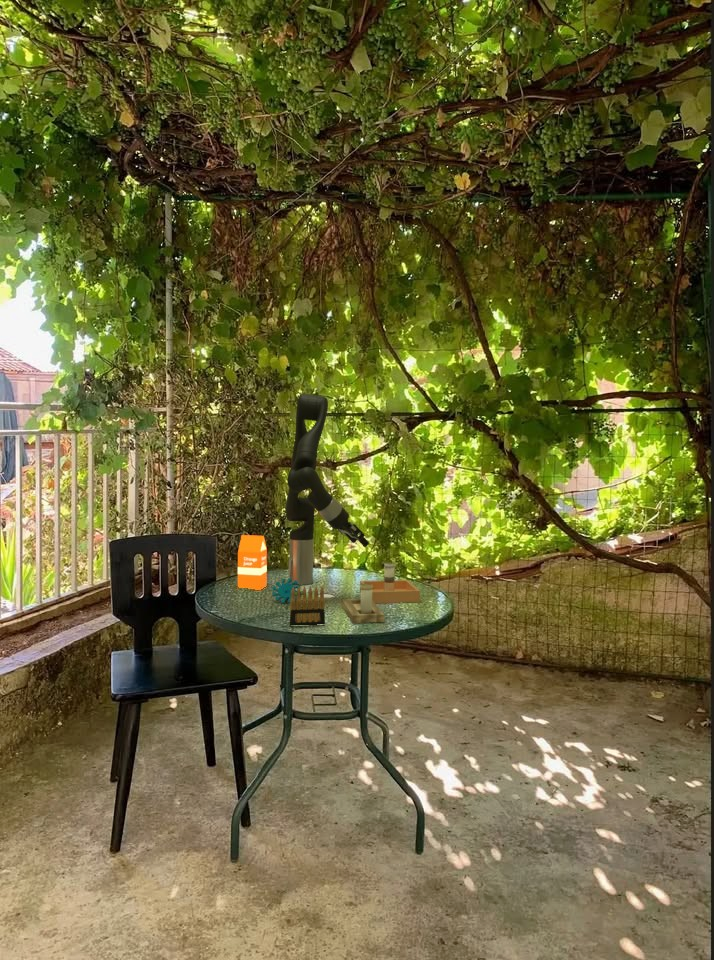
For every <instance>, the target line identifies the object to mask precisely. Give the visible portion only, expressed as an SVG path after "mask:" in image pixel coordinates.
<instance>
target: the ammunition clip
mask: <svg viewBox="0 0 714 960" xmlns="http://www.w3.org/2000/svg"><path fill="white" fill-rule="evenodd" d="M300 587H301V586H300ZM300 587H298V589H295V590H297V599H296V600H295V590H294V587H292V591H291V600H290V603H289V605H290V606H289V611H290V612H289V624H290V625H317V624H325V625H326V616H325V614H326V613H325V612H326V611H325V601H326V600H325V591H324V590H325V589H324V587H323V585H322V586H321V587H320V589H318V587H317V586H315V588H314V591H313V588H312V586H309V588H308V594H307V588H306V586H303V589H302V590H301V588H300ZM301 591H303V595H302V597H301ZM319 591H320V592H319ZM307 595H308V596H307ZM290 625H289V626H290Z"/></svg>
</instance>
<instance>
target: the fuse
mask: <svg viewBox="0 0 714 960" xmlns="http://www.w3.org/2000/svg"><path fill="white" fill-rule="evenodd" d="M360 589H361V593H360V599H361V610H360V614H372V589H373V585H372V584H361V585H360V584H359V590H360Z"/></svg>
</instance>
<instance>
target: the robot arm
mask: <svg viewBox="0 0 714 960" xmlns="http://www.w3.org/2000/svg"><path fill="white" fill-rule="evenodd" d="M328 409H329V402H328V398H327V397H325V396H321V395H316V394H315V395H314V394H310V393H309V394H308V393H301V394H299V396H298V398H297V402H296V411H295V412H296V413H295V432H294V433H295V434H294V443H293V448H292V457H291V458H292V459H291V467H290V469H289V472H288V474H287V479H286V480H287V486H288V493H287V498H286V504H285V517H286V519H287V521H289V522H303V524H302V525H300V526H299V527H297V528H295V529H292V530H291V531H290V532H289V547H288V548H289V557H288V579H289V578H291V579H292V582H290V583H289V584H291V583H293V582H294V581H295V580H296V581H297V583H298V584H299V585H300V586H302V585H305V586H306V585H311V584H313V583H314V530H315V513H316V512H315V511H317V513H318V514H319V515H320V517H322V518H323V520H324V521H325V522H326V523H327V524H328V525H329V526H330V528H332V529H334V530H337V531H338V532H339V533H340V534H341V535H343V536H345V537H347V539H348V540H350V542H351V543H353V544H354V543H356V542H357V541H358V542H359V543H360V544H361V545H362V546H363V547H364V548H367V547H368V545H369V544H370V542H369V541H368V539H366V538H365V536H366V534H365V533H364V532H363V531H362V530H361V529H360V528H359V526H357V524H355V523H353V522H352V521H349V518H350V514H349V512H348V511H347V510H346V509H345V508H344V507H343V506H342V505H341V504H340V503H339V502H338V500H337V499H336V498H334V497H333V496H332V494H330V493H329V491H328V490H327V489H326V488H325V486H324V484H323V482H322V480H321V478H320V476H319V474H318V473H317V471H316V469H317V460H318V449H319V443H320V440H321V437H322V434H323V430H324V428H325V423H326V419H327V416H328ZM306 421H311V422H315V423H314V425H313V426H312V427H311V428H310V429H309V430H307V426H306ZM306 490H311V491H310V492H309V494H308V495H307V496H306V497H299V495H300V493H301V492H305V491H306Z"/></svg>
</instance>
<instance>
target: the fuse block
mask: <svg viewBox="0 0 714 960" xmlns="http://www.w3.org/2000/svg"><path fill="white" fill-rule="evenodd" d="M342 607H343V608H342ZM341 608H342V609H343V611H344V610H345V611H344V612H345V614H346V613H347V614H346V615H348V616H349V617H348V616H347V617H348V619H349V618H350V619H349V620H350V622H351V621H352V622H351V623H352V624H353V623H355V624H364V623H363V622H366V623H365V624H368V623H367V622H384V623H385V613H384V612H383V611H382V610H381V608H380V607H379V606H378V605H377V604H375V603H374V601H373V600H372V614H360V610H361V598H352V599H351V598H347V599H346V598H344V599H341Z"/></svg>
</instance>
